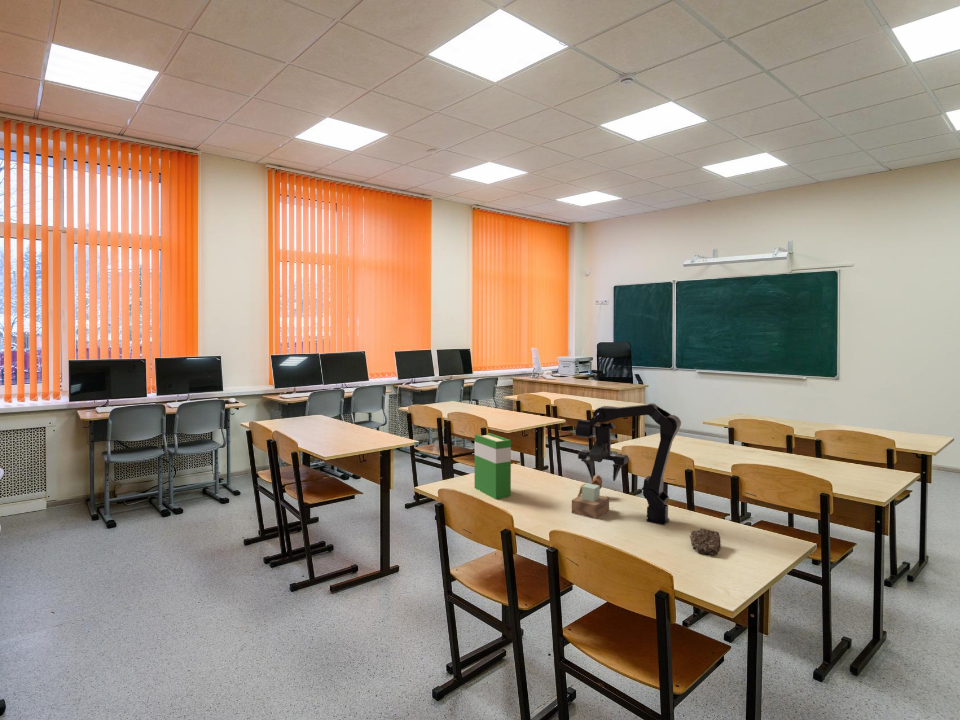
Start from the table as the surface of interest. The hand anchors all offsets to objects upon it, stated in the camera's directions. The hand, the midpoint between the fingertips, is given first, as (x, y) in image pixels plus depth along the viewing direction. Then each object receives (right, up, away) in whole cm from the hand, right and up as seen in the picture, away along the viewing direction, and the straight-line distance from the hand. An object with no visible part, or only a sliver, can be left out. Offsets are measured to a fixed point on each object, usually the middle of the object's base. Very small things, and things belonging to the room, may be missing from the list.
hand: (602, 478), depth 202 cm
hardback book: (-42, -11, +23) cm, 50 cm away
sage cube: (-5, -7, -1) cm, 9 cm away
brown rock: (+24, -15, -35) cm, 45 cm away
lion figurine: (-2, -12, +15) cm, 19 cm away
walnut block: (-5, -12, -1) cm, 13 cm away
